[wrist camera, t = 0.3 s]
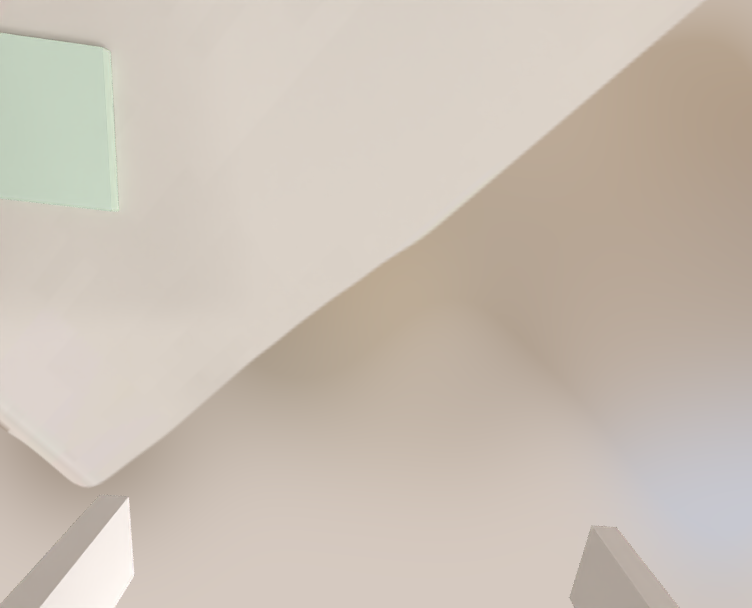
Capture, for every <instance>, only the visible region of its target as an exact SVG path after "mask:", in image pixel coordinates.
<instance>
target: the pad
mask: <svg viewBox="0 0 752 608" xmlns="http://www.w3.org/2000/svg"><path fill="white" fill-rule="evenodd" d="M0 199H8V200H17V201H25V202H34V203H43V204H51V205H60V206H69V207H77V208H86V209H95V210H103V211H119V203H118V184H117V164H116V145H115V125H114V106H113V87H112V67H111V52H110V51H108V50H107V49H105V48H103V47H98V46H91V45H84V44H77V43H70V42H63V41H56V40H49V39H42V38H35V37H28V36H20V35H13V34H6V33H0Z"/></svg>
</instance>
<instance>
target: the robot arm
mask: <svg viewBox="0 0 752 608" xmlns="http://www.w3.org/2000/svg"><path fill="white" fill-rule="evenodd" d="M133 577H134V565H133V550H132V537H131V521H130V507H129V497H128V496H112V495H99V496H98V497H97V498H96V499H95V500H94V501H93V503H92V504H91V505H90V506H89V507H88V508H87V509H86V510H85V511H84V512H83V514H82V515H81V516H80V517H79V518H78V519H77V520H76V522H75V523H73V525H72V526H71V527H70V528H69V529H68V530H67V531H66V532H65V534H63V536H62V537H61V538H60V539H59V540H58V541H57V542H56V543H55V544H54V545H53V547H52V548H51V549H50V550H49V551H48V552H47V553H46V554H45V556H44V557H43V558H42V559H41V560H40V561H39V562H38V563H37V564H36V565H35V566H34V568H33V569H32V570H31V571H30V572H29V573H28V574H27V575H26V576H25V577H24V579H23V580H22V581H21V582H20V583H19V584H18V585H17V586H16V587H15V588H14V590H13V591H12V592H11V593H10V594H9V595H8V596H7V597H6V598H5V599H4V601H3V602H2V603H1V604H0V608H115V606H116V604H117V603H118V601H119V600H120V598H121V596H122V595H123V593H124V591H125V590H126V588H127V586H128V585H129V583H130V582H131V580H132V578H133ZM570 600H571V602H572V604H573V606H574V608H679V606H678V605H677V604H676V602H675V601H674V600H673V599H672V597H671V596H670V595H669V594H668V592H667V591H666V590H665V588H664V587H663V586H662V585H661V583H660V582H659V581H658V580H657V578H656V577H655V576H654V574H653V573H652V572H651V571H650V569H649V568H648V567H647V565H646V564H645V563H644V562H643V560H642V559H641V558H640V557H639V555H638V554H637V553H636V552H635V550H634V549H633V548H632V546H631V545H630V544H629V543H628V541H627V540H626V539H625V537H624V536H623V535H622V534H621V532H620V531H619V530H618V528H617V527H605V526H591V529H590V532H589V535H588V539H587V542H586V545H585V548H584V552H583V555H582V558H581V562H580V565H579V568H578V571H577V574H576V578H575V581H574V584H573V587H572V591H571V594H570Z"/></svg>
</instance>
